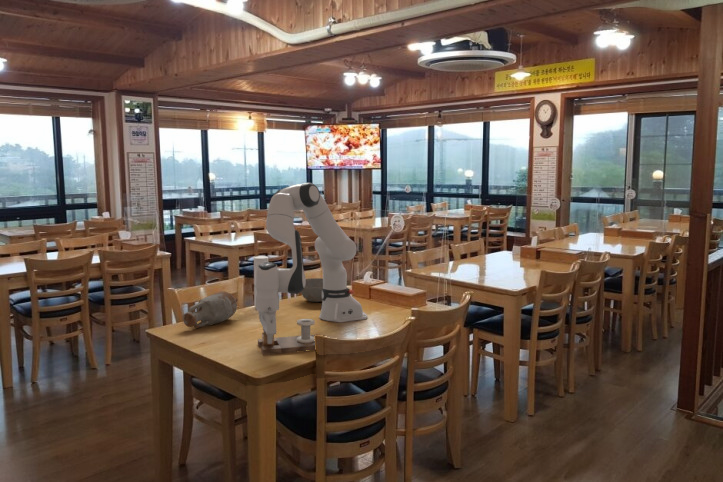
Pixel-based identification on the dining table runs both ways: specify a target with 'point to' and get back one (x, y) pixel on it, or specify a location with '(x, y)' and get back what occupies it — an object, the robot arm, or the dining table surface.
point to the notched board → (286, 345)
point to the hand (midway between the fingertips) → (267, 339)
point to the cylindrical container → (257, 261)
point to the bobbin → (305, 330)
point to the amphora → (211, 310)
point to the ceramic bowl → (313, 289)
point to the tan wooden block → (264, 340)
